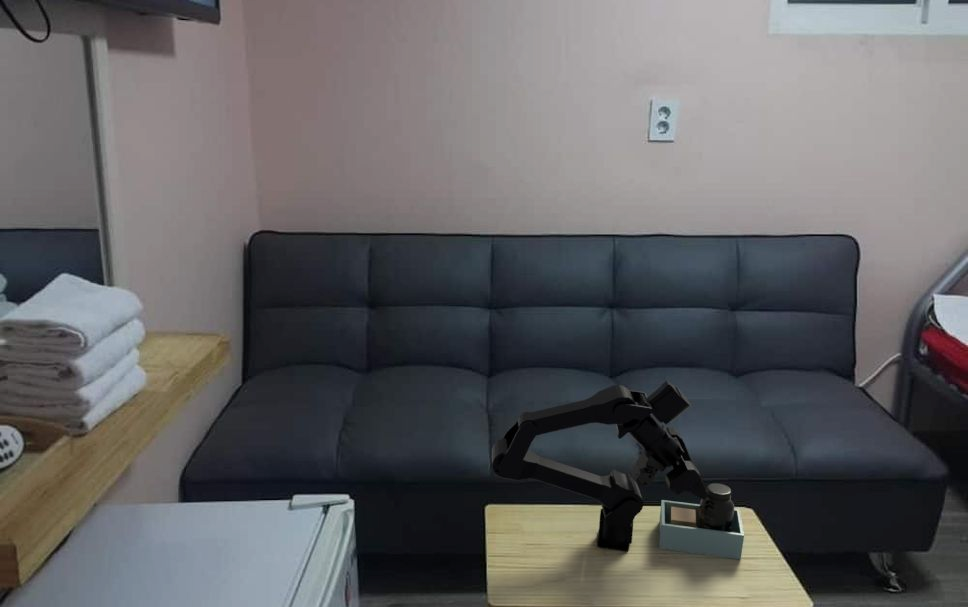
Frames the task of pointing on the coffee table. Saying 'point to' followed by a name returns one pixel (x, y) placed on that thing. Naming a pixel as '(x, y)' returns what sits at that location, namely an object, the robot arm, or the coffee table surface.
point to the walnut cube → (683, 517)
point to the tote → (699, 534)
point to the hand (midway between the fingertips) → (700, 485)
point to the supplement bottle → (716, 509)
